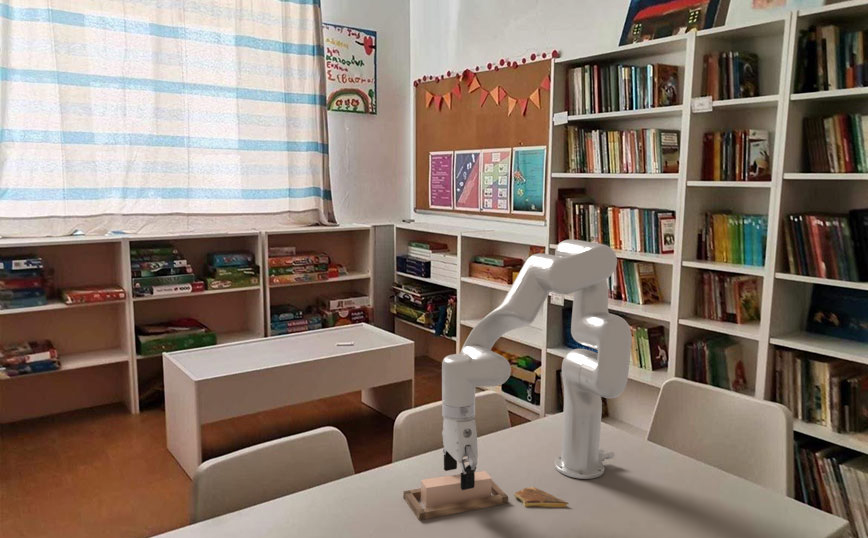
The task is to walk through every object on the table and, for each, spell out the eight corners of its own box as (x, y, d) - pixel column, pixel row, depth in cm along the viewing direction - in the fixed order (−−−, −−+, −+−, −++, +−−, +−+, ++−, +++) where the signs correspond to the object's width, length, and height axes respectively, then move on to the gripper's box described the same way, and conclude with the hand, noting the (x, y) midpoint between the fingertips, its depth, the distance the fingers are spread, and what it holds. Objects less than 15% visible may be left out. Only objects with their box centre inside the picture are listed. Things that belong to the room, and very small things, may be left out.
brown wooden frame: (487, 482, 158) (487, 476, 158) (507, 502, 148) (508, 496, 148) (403, 497, 150) (403, 491, 150) (419, 520, 140) (419, 513, 140)
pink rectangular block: (484, 492, 154) (485, 470, 153) (490, 500, 150) (491, 478, 149) (420, 502, 149) (421, 479, 148) (426, 510, 145) (426, 487, 144)
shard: (568, 509, 147) (568, 501, 147) (547, 520, 142) (548, 512, 142) (531, 491, 155) (531, 484, 155) (510, 501, 150) (511, 494, 150)
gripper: (490, 420, 139) (490, 493, 142) (458, 394, 155) (458, 460, 158) (459, 425, 137) (459, 499, 139) (429, 398, 152) (430, 465, 155)
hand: (458, 478), depth 149 cm, fingers open, 9 cm apart
